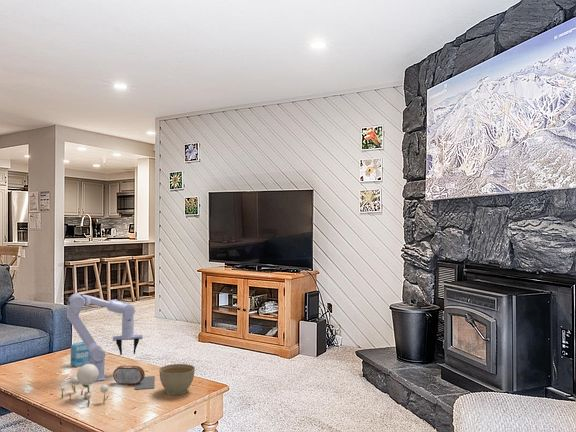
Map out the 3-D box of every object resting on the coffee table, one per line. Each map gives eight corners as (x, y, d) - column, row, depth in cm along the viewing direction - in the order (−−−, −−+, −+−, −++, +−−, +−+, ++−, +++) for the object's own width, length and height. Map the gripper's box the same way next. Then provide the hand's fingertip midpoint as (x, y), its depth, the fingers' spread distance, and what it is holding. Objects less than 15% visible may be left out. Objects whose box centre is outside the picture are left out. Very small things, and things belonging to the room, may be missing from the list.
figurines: (115, 401, 210) (115, 366, 210) (91, 410, 200) (92, 373, 200) (79, 390, 223) (80, 357, 224) (55, 398, 213) (56, 363, 214)
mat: (134, 389, 225) (134, 389, 225) (136, 378, 242) (136, 377, 242) (154, 388, 227) (154, 387, 227) (154, 376, 244) (154, 375, 244)
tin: (145, 382, 233) (144, 365, 233) (142, 384, 230) (142, 367, 230) (115, 382, 235) (114, 365, 235) (112, 384, 232) (111, 367, 232)
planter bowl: (201, 392, 223) (201, 368, 223) (170, 401, 211) (171, 376, 212) (182, 383, 234) (182, 361, 234) (152, 391, 223) (152, 368, 223)
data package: (74, 367, 257) (75, 345, 258) (70, 366, 260) (70, 344, 260) (95, 363, 267) (95, 341, 267) (90, 361, 270) (91, 340, 270)
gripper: (142, 325, 254) (142, 350, 254) (113, 326, 250) (113, 352, 250) (142, 327, 247) (142, 354, 247) (112, 329, 243) (112, 356, 243)
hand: (127, 353), depth 248 cm, fingers open, 6 cm apart
